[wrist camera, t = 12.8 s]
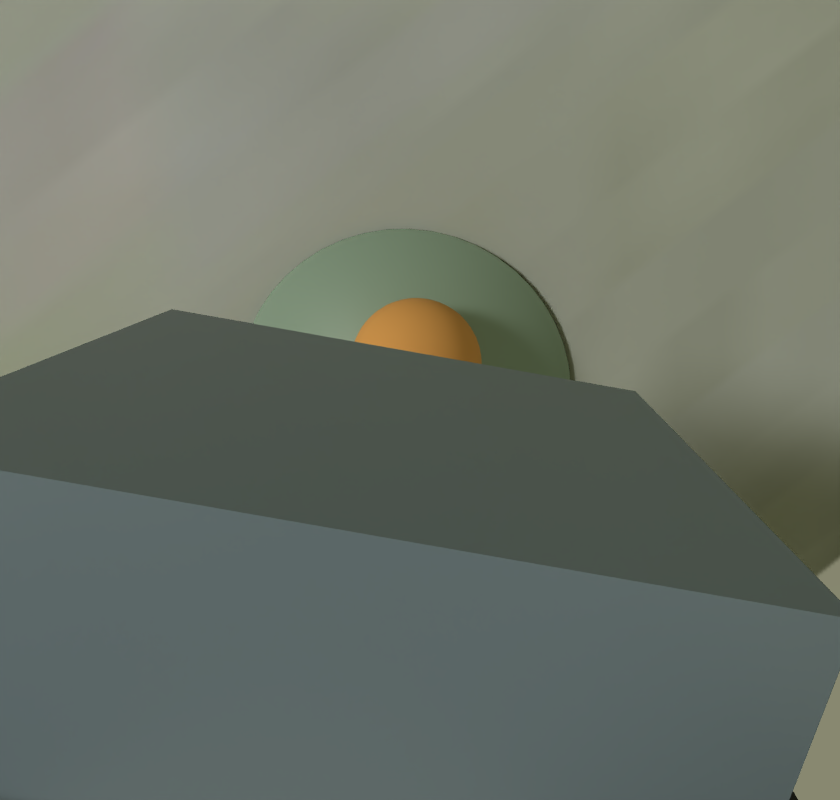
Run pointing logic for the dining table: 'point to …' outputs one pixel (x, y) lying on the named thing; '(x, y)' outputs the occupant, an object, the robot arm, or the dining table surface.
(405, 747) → the slate square block
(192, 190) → the dining table surface
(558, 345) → the green flat disc
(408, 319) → the ball
